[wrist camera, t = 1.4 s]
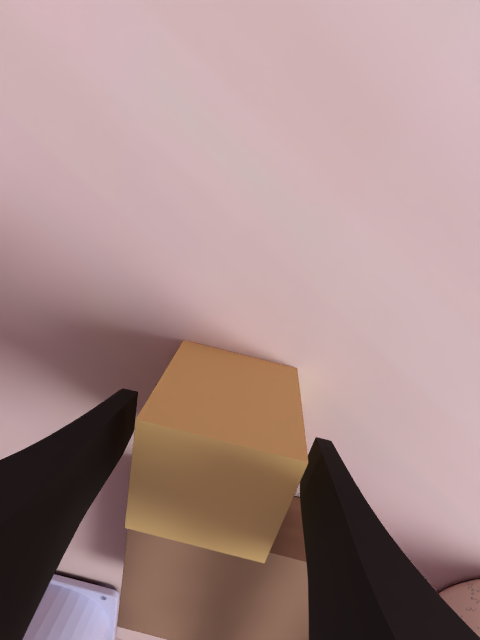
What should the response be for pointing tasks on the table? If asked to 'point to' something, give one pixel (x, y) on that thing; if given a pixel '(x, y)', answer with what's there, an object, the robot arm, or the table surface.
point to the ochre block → (218, 452)
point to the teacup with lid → (465, 602)
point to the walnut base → (216, 589)
